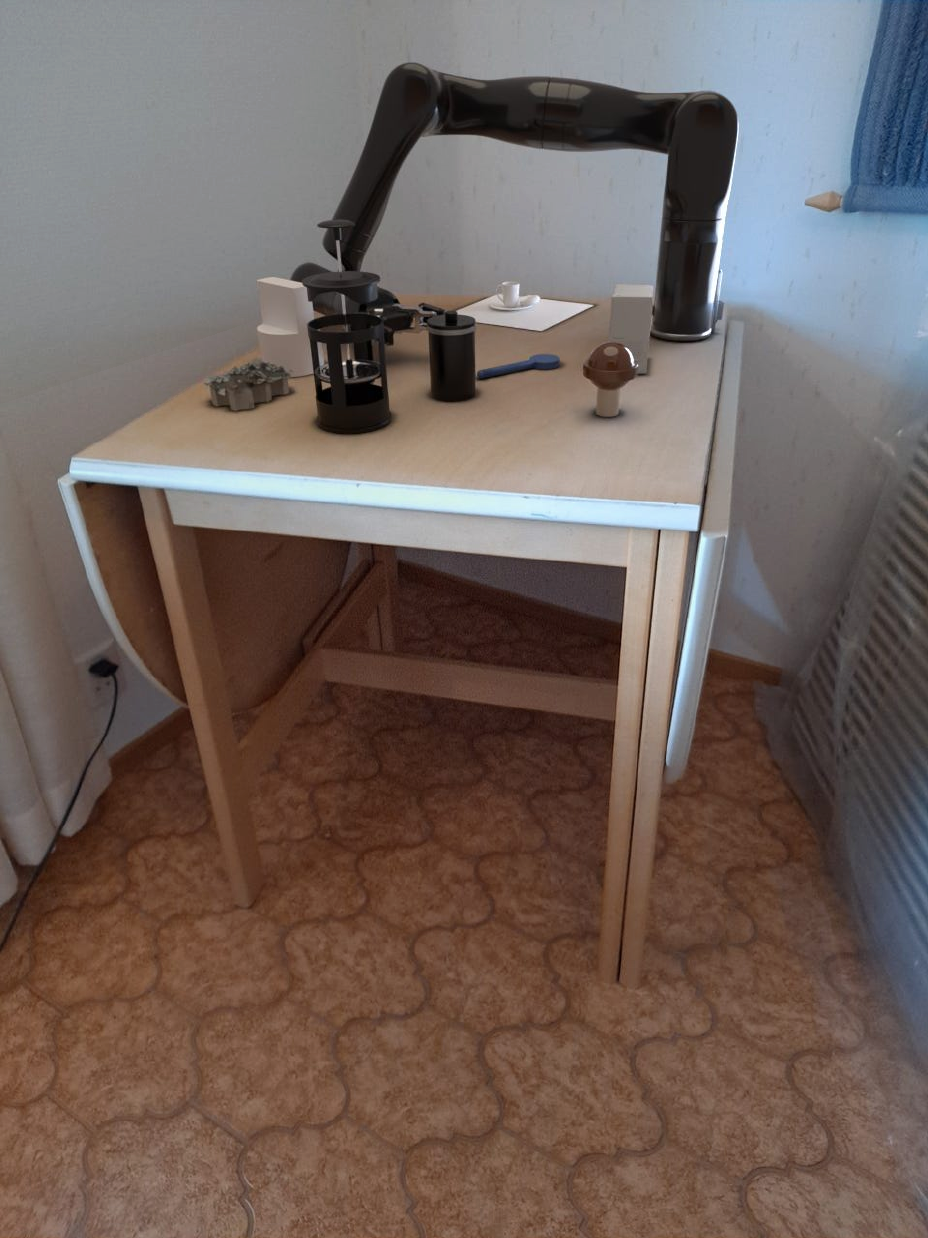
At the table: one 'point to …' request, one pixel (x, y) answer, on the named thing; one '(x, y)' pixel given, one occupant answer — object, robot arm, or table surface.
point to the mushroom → (609, 374)
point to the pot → (452, 356)
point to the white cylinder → (286, 325)
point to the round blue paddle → (522, 365)
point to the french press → (352, 389)
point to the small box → (632, 320)
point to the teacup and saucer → (521, 309)
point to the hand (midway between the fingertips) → (418, 332)
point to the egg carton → (248, 385)
